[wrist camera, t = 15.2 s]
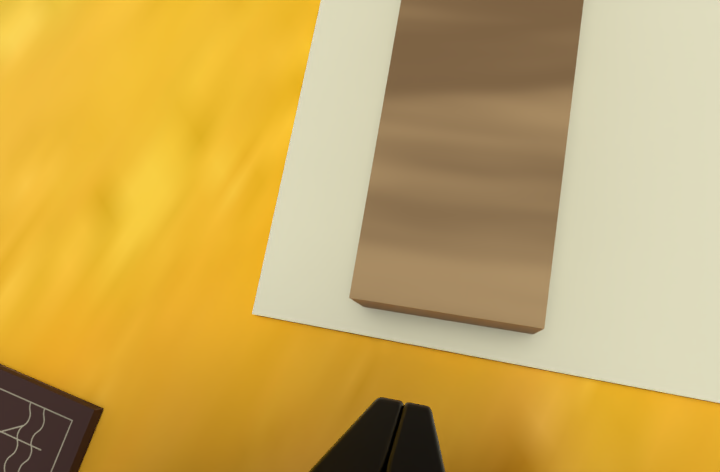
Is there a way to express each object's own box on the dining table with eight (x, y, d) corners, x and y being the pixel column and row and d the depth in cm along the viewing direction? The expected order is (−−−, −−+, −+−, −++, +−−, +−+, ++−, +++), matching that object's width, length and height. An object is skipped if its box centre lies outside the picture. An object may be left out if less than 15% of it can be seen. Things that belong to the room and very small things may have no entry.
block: (419, -103, 19) (349, 297, 17) (595, -97, 18) (544, 328, 16) (424, -43, 22) (365, 307, 20) (577, -34, 21) (532, 334, 19)
